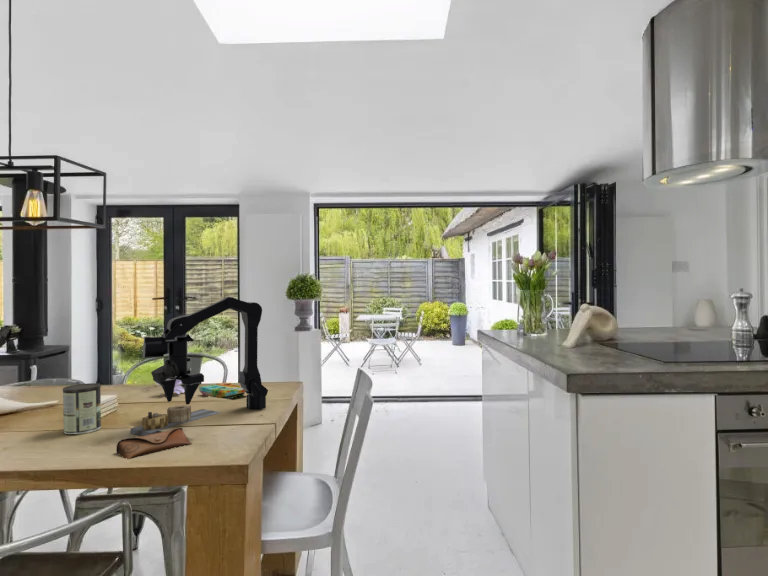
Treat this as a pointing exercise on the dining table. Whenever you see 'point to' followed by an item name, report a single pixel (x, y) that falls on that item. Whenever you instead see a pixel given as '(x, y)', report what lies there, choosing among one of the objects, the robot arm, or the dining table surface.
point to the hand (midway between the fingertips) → (178, 402)
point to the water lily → (177, 387)
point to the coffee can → (82, 408)
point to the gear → (179, 413)
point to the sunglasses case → (151, 443)
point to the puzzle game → (222, 390)
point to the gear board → (193, 417)
